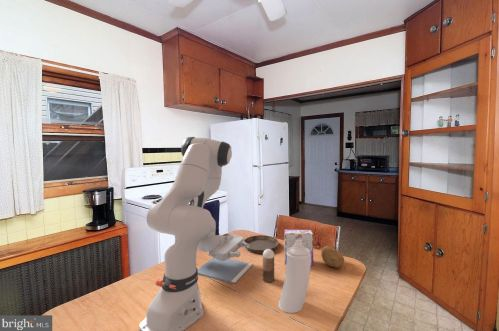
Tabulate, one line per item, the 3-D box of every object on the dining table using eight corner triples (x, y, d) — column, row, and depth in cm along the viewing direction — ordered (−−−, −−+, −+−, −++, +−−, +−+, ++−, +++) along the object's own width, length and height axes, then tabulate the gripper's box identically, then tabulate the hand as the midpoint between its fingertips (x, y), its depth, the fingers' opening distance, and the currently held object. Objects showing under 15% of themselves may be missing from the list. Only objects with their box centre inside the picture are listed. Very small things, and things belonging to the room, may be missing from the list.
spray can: (289, 291, 101) (290, 232, 98) (314, 302, 94) (315, 238, 92) (274, 306, 92) (273, 241, 89) (299, 319, 85) (300, 249, 83)
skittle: (271, 284, 106) (271, 252, 105) (261, 281, 108) (261, 250, 107) (275, 278, 111) (275, 248, 109) (265, 275, 113) (265, 246, 112)
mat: (235, 283, 107) (235, 282, 107) (194, 273, 116) (194, 271, 116) (252, 265, 123) (252, 263, 123) (215, 256, 132) (215, 255, 132)
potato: (331, 274, 114) (331, 257, 113) (316, 260, 128) (316, 245, 127) (350, 271, 116) (350, 255, 115) (333, 258, 129) (334, 243, 129)
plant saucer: (260, 258, 130) (260, 252, 130) (235, 247, 145) (235, 241, 145) (285, 247, 144) (285, 241, 144) (260, 237, 159) (260, 232, 159)
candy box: (311, 260, 127) (311, 229, 126) (313, 266, 121) (313, 233, 120) (284, 259, 129) (284, 228, 127) (284, 265, 123) (284, 232, 121)
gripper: (206, 247, 111) (233, 253, 105) (229, 231, 129) (253, 235, 123) (206, 261, 111) (233, 267, 105) (229, 243, 130) (253, 248, 124)
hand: (244, 250), depth 114 cm, fingers open, 8 cm apart
